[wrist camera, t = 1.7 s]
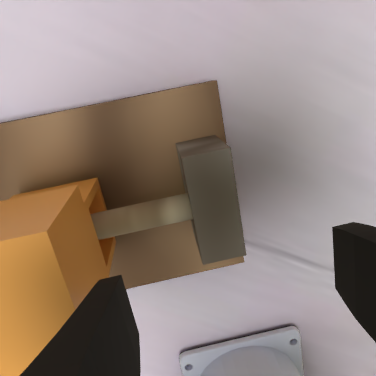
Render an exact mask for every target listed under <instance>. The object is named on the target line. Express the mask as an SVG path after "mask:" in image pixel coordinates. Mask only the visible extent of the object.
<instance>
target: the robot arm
mask: <svg viewBox="0 0 376 376" xmlns="http://www.w3.org/2000/svg"><path fill="white" fill-rule="evenodd" d="M332 228H333V249H334V270H335V288H336V290H337V291H338V293H339V295H340V296H341V298H342V299H343V301H344V302H345V304H346V305H347V307H348V308H349V310H350V311H351V313H352V314H353V316H354V317H355V318H356V320H357V321H358V322H359V323H360V325H361V326H362V327H363V328H364V329H365V330H366V332H367V333H368V334H369V335H370V336H371V337H372V339H373V340H374V341H375V342H376V227H373V226H369V225H365V224H360V223H355V222H352V223H348V224H343V225H339V226H335V227H332ZM292 339H294V340H292ZM291 340H292V341H291ZM179 362H180V366H181V370H182V374H183V376H304V371H303V361H302V350H301V340H300V333H299V330H298V329H297V328H296V327H295V326H289V327H285V328H281V329H276V330H272V331H268V332H264V333H260V334H255V335H251V336H247V337H243V338H239V339H235V340H230V341H226V342H222V343H218V344H214V345H209V346H205V347H201V348H197V349H193V350H189V351H185V352H182V353H181V354H180V356H179ZM187 364H191V365H189V366H187ZM19 376H140V345H139V332H138V329H137V326H136V322H135V319H134V316H133V312H132V309H131V305H130V302H129V299H128V295H127V292H126V289H125V285H124V282H123V278H122V275H118V276H113V277H109V278H104V279H100V280H99V281H98V282H97V283H96V284H95V285H94V287H93V288H92V289H91V290H90V292H89V293H88V294H87V296H86V297H85V298H84V299H83V301H82V302H81V303H80V305H79V306H78V307H77V309H76V310H75V311H74V312H73V314H72V315H71V316H70V317H69V319H68V320H67V321H66V322H65V324H64V325H63V326H62V327H61V329H60V330H59V331H58V332H57V334H56V335H55V336H54V337H53V338H52V339H51V340H50V342H49V343H48V344H47V345H46V346H45V347H44V349H43V350H42V351H41V352H40V353H39V354H38V355H37V357H36V358H35V359H34V360H33V361H32V362H31V363H30V365H29V366H28V367H27V368H26V369H25V370H24V371H23V372H22V373H21V374H20V375H19Z"/></svg>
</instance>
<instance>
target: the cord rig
mask: <svg viewBox="0 0 376 376" xmlns="http://www.w3.org/2000/svg"><path fill="white" fill-rule="evenodd" d="M92 178H98V181H99V185H100V188H101V191H102V195H103V198H104V202H105V205H106V209H107V211H102V212H97V213H93V214H90V215H91V218H92V221H93V224H94V228H95V231H96V234H97V237H98V240H100V239H105V238H109V237H114V236H115V239H116V244H115V249H114V254H113V259H112V264H111V269H110V274H109V277H113V276H118V275H122V278H123V282H124V285H125V289H128V288H133V287H137V286H142V285H146V284H150V283H155V282H159V281H164V280H168V279H172V278H177V277H181V276H185V275H190V274H194V273H199V272H203V271H207V270H212V269H216V268H221V267H225V266H229V265H234V264H238V263H242V262H244V257H243V256H245V255H246V250H245V243H244V237H243V230H242V223H241V216H240V210H239V203H238V196H237V189H236V182H235V176H234V169H233V162H232V155H231V149H230V147H229V146H228V145H227V144H226V138H225V132H224V125H223V118H222V112H221V105H220V99H219V92H218V85H217V81H208V82H203V83H198V84H193V85H188V86H183V87H178V88H173V89H168V90H163V91H158V92H153V93H148V94H143V95H138V96H134V97H129V98H124V99H119V100H114V101H109V102H104V103H99V104H94V105H89V106H84V107H79V108H74V109H69V110H64V111H59V112H54V113H49V114H44V115H39V116H34V117H29V118H24V119H19V120H14V121H9V122H4V123H0V201H3V200H8V199H10V198H11V197H12V196H13V195H16V194H21V193H26V192H31V191H35V190H40V189H45V188H50V187H54V186H59V185H64V184H69V183H73V182H78V181H83V180H87V179H92Z"/></svg>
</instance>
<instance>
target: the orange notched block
mask: <svg viewBox="0 0 376 376" xmlns="http://www.w3.org/2000/svg"><path fill="white" fill-rule="evenodd" d="M102 211H107V209H106V205H105V202H104V198H103V195H102V191H101V188H100V185H99V181H98V178H92V179H87V180H83V181H78V182H73V183H69V184H64V185H59V186H54V187H50V188H45V189H40V190H35V191H31V192H26V193H21V194H16V195H13V196H12V197H11V198H10V199H8V200H3V201H0V376H19V375H20V374H21V373H22V372H23V371H24V370H25V369H26V368H27V367H28V366H29V365H30V363H31V362H32V361H33V360H34V359H35V358H36V357H37V355H38V354H39V353H40V352H41V351H42V350H43V349H44V347H45V346H46V345H47V344H48V343H49V342H50V340H51V339H52V338H53V337H54V336H55V335H56V334H57V332H58V331H59V330H60V329H61V327H62V326H63V325H64V324H65V322H66V321H67V320H68V319H69V317H70V316H71V315H72V314H73V312H74V311H75V310H76V309H77V307H78V306H79V305H80V303H81V302H82V301H83V299H84V298H85V297H86V296H87V294H88V293H89V292H90V290H91V289H92V288H93V287H94V285H95V284H96V283H97V282H98V281H99V280H100V279H104V278H109V274H110V269H111V264H112V259H113V254H114V249H115V244H116V239H115V236H114V237H109V238H105V239H100V240H98V237H97V234H96V231H95V228H94V224H93V221H92V218H91V215H90V214H93V213H97V212H102Z"/></svg>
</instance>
